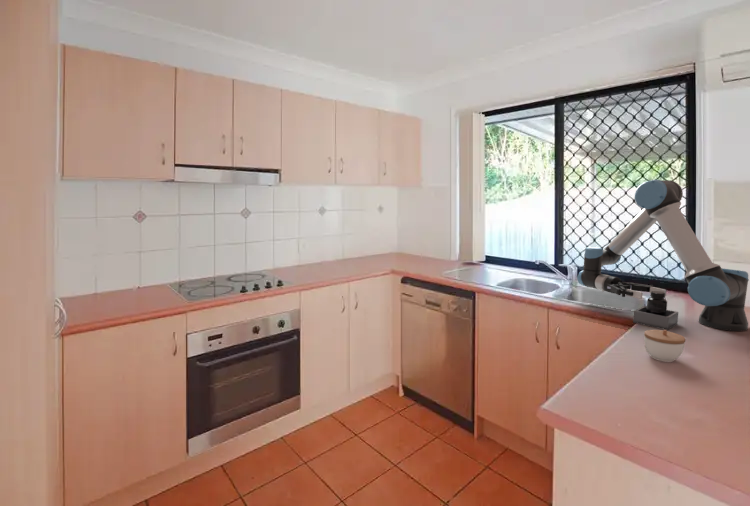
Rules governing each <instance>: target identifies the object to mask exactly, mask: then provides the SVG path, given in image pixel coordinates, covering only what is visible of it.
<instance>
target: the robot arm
mask: <svg viewBox="0 0 750 506" xmlns="http://www.w3.org/2000/svg"><path fill="white" fill-rule="evenodd" d="M683 195H684V193H683V188H682V186H681V185H680V184H679V183H678V182H676V181H673V180H665V179H663V180H660V179H651V180H647V181H644V182H643V183H640V185H639V186H638V187H637V188H636V190H635V193H634V200H635V203H636V205H637V206H639V207H640V208H641V209H642V210H641V211H640V212H638V214H637V215H636V216H635V217H633V219H632V220H631V221H630V222H629V223H628V224H626V226H624V228H623V229H622V230H621V231H620V232H619V233H618V234H617V236H615V237H614V238H613V239H612V240H611V242H610V243H609V244H608V245H607V246H606V247H605V248H604V249H603V248H602V247H599V246H587V247H585V249H584V255H583V257H584V258H583V270H581V271H579V272H578V275H577V276H576V277H577V279H576V280H577V283H578V284H579V285H581V286H584V287H586V288H591V289H596V290H599V291H601V292H602V293H604V292H606V293H611V294H614V295H616V296H621V297H623V298H625V297H631V298H635V299H638V300H643V293H644V292H645V293H649V294H651V291H661V292H664V293H665V297H666V296H667V289H665V288H660V287H655V286H654V285H653V284H649V285H648V284H642V283H636V282H635V283H634V282H626V281H622V279H621V278H619V277H618V276H612V275H609V274H603V273H602V266H610V265H615V264H617V263H619V262H620V261H621V258H622V255H624V253H625V252H626V251H627V250H629V249H630V248H631V246H633V245H634V244H635V243H636V242H637V241H638V240H639V239H641V237H642V236H643V235H644V234H645V233H646V232H647V231H648V230H649V229H651V228H652V226H654V224H656V222H657V224H658V225H659V227H660V228H661V230H662V232H663V234H664V235H665V237H666V239H667V241H668V242H669V244H670V246H671V248H672V249H673V250H674V252H675V254H676V255H677V257H678V259H679V261H680V262H681V265H682V266H683V268H684V270H685V271H686V273H685V275H684V278H685V280H686V282H687V284H688V286H687V292H688V296H689V297H690V298H691V300H692V301H694V302H695V303H697V304H699V305H702V306H704V307H703V309H702V311H701V312H700V314H699V317H698V323H699V324H701V325H704V326H706V327H708V328H714V329H718V330H724V331H732V332H742V331H741V330H745V331H747V330H748V329H749V322H748V318H747V314H746V311H745V307H746V306H745V305H746V299H747V291H748V286H749V285H748V284H749V281H750V280H749V273H748V272H747V271H745V270H739V269H729V268H723V267H721V265H720V264H717V263H714V262H713V261H712V260H711V258H710V257H709V255H708V253H707V252H706V250H705V248H704V246H703V245H702V244H701V242H700V241H699V239H698V236H697V235H696V233H695V232H694V231H693V228H692V227H691V225H690V224H689V223H688V220H687V219H686V218H685V215H684V214H683V213H682V210H680V207H681V205H682V202H681V200H682V198H683ZM746 329H747V330H746Z"/></svg>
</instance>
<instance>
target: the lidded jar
mask: <svg viewBox="0 0 750 506" xmlns="http://www.w3.org/2000/svg"><path fill="white" fill-rule="evenodd" d="M643 335H644V336H643V337H644V339H643V342H644V343H643V344H644V348H645V351H646V353H648V355H649V356H650V357H651V358H652V359H654V360H655V361H656V360H657V361H659V362H665V363H672V362H674V361H675V360H677V359H678V358H680V356H682V354H683V351H684V348H685V343H686V338H685V336H683V335H682V334H679V333H677V332H672V331H669V330H665V329H661V330H660V329H647V330H645V331H644V334H643Z"/></svg>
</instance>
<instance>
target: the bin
mask: <svg viewBox="0 0 750 506" xmlns="http://www.w3.org/2000/svg"><path fill="white" fill-rule="evenodd" d="M646 308H647V305H644V306H641V307H639V308H637V309H635V310H634V311H633V320H632V323H633V324H638V325H641V326H648V327H652V328H657V329H661V330H667V331H669V330H670V329H671V328H673V327H675V326H676V325H678V321H679V320H678V319H679V311H676V310H675V311H674V310H669V309H667V312H666V316H661V315H656V314H651V313H646Z"/></svg>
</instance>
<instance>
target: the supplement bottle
mask: <svg viewBox="0 0 750 506" xmlns="http://www.w3.org/2000/svg"><path fill="white" fill-rule="evenodd" d="M649 295H650V297H648V298H647V300H646V306H647V308H646V313H651V314H656V315H661V316H666V312H667V310H668V300H667V299H666V296H665V293H664V292H661V291H651V293H650V294H649Z"/></svg>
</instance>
